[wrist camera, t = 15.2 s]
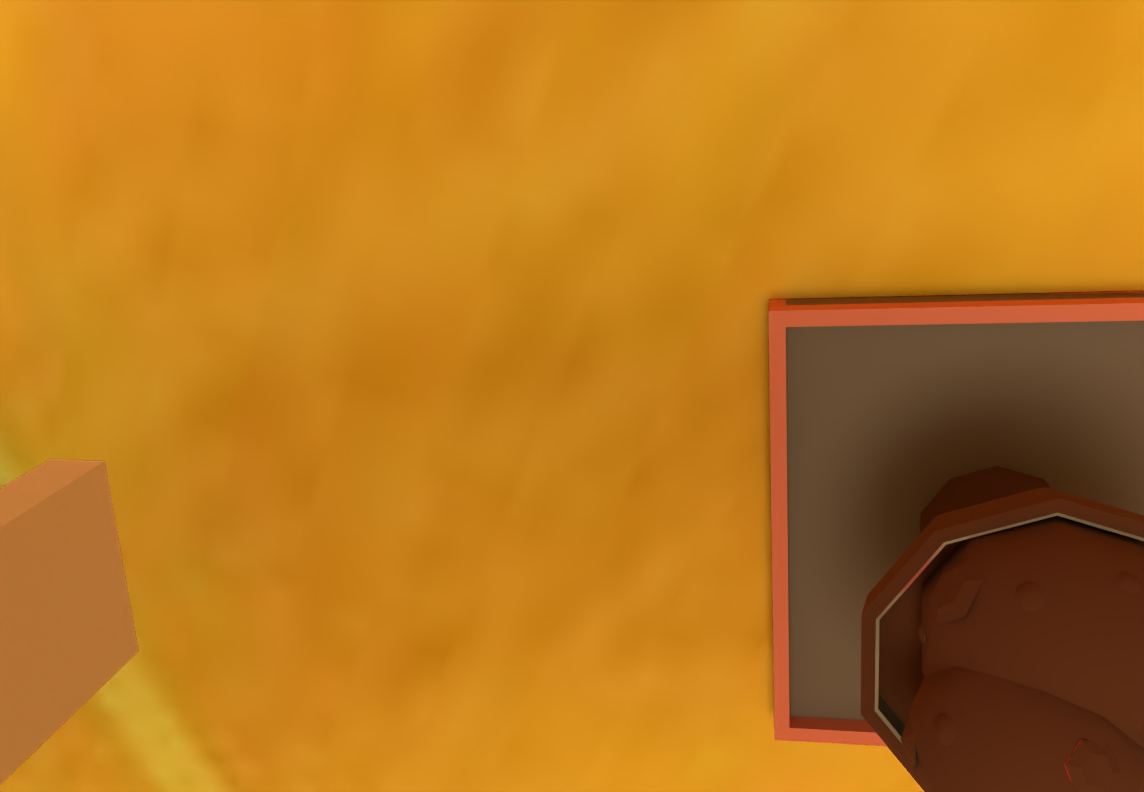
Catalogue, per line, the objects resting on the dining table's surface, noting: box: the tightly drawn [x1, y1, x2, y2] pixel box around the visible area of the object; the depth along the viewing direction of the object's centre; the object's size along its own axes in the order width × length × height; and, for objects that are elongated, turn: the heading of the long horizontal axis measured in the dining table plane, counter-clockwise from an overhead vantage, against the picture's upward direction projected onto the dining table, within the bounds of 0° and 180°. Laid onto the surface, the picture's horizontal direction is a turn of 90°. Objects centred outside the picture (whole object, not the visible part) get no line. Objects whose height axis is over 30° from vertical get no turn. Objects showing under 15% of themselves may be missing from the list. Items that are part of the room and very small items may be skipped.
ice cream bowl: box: [861, 466, 1144, 792], centre depth 34 cm, size 11×11×15 cm
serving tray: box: [768, 291, 1144, 746], centre depth 41 cm, size 16×18×2 cm
